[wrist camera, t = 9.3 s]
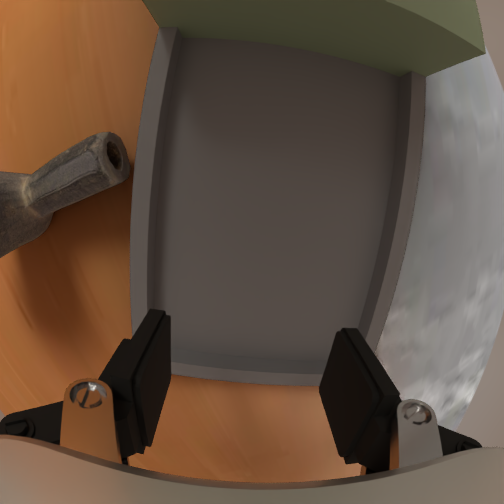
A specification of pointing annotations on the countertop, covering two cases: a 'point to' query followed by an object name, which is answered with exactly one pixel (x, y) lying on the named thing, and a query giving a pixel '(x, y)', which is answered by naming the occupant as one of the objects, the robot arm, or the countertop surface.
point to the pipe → (58, 187)
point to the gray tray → (281, 174)
